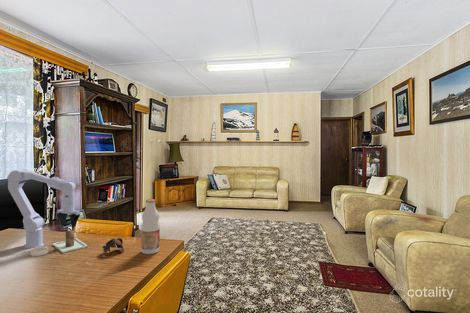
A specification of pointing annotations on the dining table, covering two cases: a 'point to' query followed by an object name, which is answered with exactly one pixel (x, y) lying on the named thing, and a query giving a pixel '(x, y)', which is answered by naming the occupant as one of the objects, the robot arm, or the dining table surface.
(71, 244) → the dowel pin
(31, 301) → the dining table surface
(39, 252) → the white octagonal dish
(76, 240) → the sage tray
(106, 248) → the brown arched lump
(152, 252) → the fruit juice
